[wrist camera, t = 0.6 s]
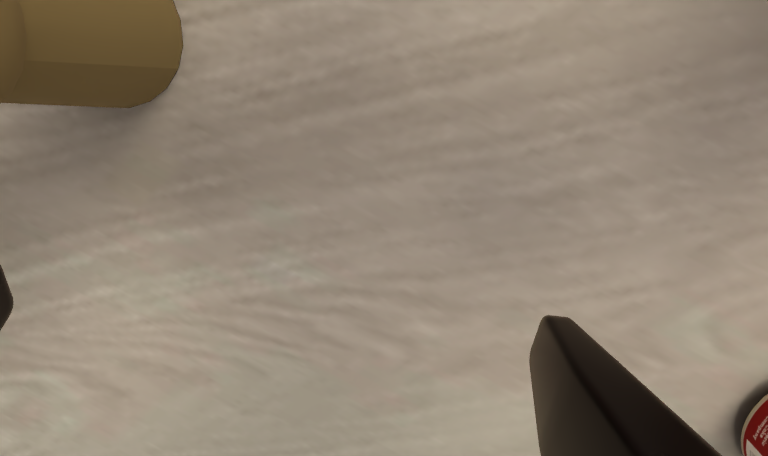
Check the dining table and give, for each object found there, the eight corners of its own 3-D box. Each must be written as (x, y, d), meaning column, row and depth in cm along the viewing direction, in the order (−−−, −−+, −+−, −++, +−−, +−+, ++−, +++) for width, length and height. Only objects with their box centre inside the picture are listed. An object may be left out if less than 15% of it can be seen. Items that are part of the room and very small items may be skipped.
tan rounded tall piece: (0, 28, 20) (-412, 6, 10) (88, -93, 19) (-286, -268, 8) (123, 138, 22) (-127, 219, 11) (214, 33, 20) (23, 16, 10)
